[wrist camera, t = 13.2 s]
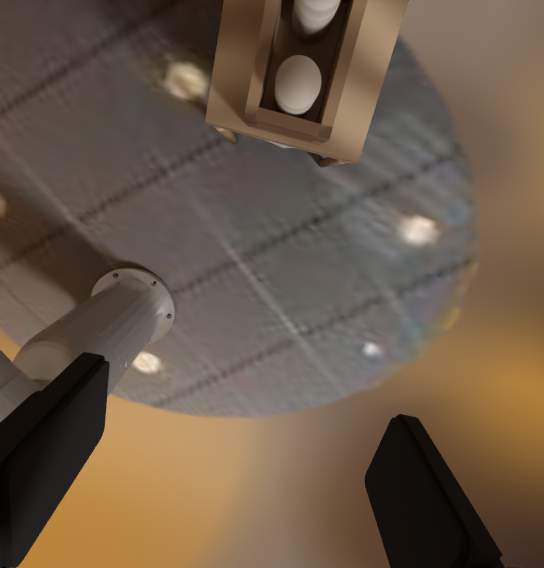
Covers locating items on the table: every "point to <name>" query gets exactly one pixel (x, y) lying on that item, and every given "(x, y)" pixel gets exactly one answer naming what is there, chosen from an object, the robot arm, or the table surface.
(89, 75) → the table surface
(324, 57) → the tray
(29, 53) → the table surface
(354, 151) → the tan flanged panel
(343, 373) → the table surface
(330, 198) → the table surface
